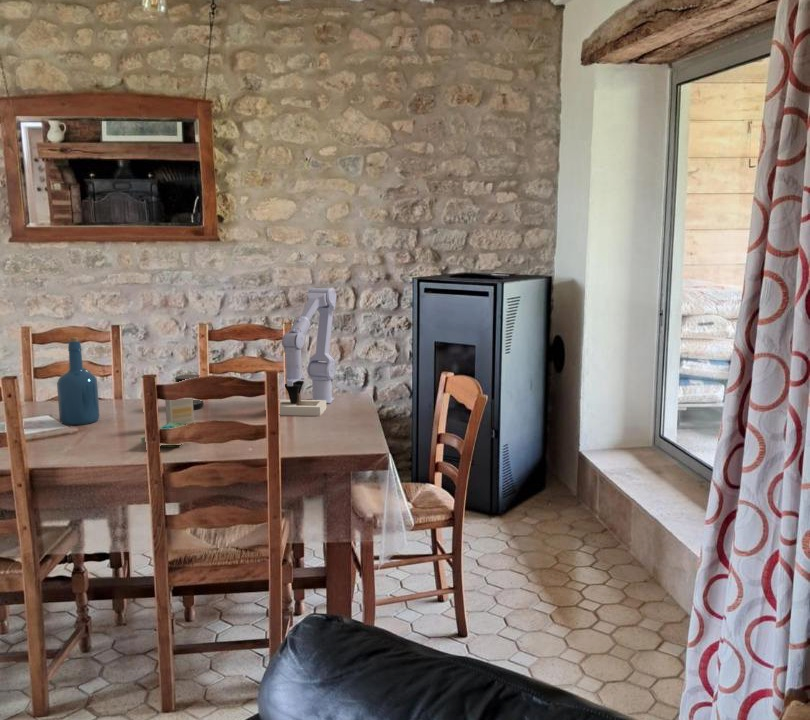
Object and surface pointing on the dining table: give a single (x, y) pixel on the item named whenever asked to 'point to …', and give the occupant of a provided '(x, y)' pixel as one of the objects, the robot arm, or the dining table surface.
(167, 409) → the supplement box
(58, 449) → the dining table surface
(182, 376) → the supplement container
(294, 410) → the cream rectangular tray
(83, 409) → the wine bottle
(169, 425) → the puzzle game
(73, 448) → the dining table surface
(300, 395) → the keyhole slider
